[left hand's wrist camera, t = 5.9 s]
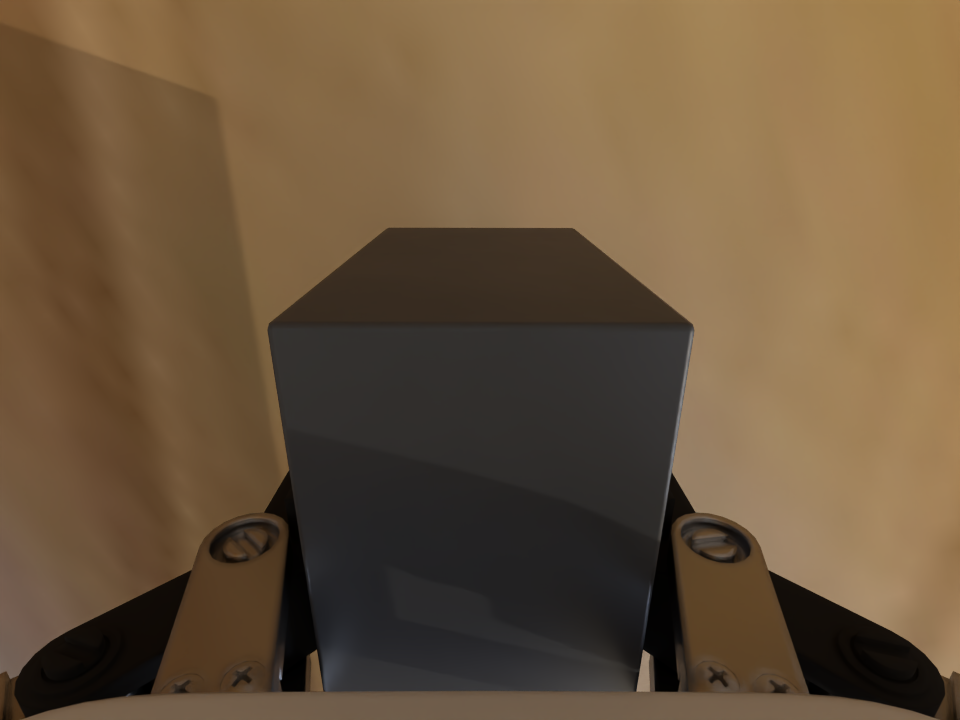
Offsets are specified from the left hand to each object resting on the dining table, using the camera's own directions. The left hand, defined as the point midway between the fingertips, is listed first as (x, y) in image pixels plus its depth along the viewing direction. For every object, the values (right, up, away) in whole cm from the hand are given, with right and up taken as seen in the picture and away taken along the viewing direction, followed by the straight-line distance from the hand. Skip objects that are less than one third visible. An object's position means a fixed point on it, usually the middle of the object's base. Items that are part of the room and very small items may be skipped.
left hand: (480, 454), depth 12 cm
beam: (0, -28, +14) cm, 32 cm away
